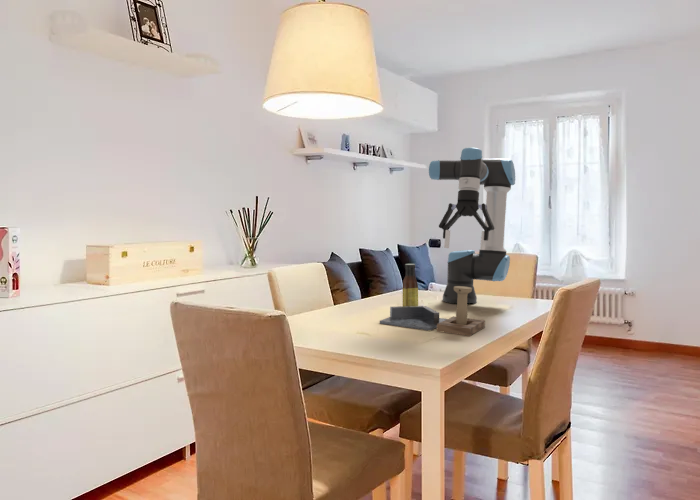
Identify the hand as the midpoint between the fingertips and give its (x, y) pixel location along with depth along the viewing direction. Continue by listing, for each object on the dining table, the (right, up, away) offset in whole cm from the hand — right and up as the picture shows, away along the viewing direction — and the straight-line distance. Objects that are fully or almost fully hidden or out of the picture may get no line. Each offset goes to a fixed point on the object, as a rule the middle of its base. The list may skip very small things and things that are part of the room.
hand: (464, 248), depth 207 cm
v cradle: (-17, -27, +5) cm, 33 cm away
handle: (-2, -29, -4) cm, 29 cm away
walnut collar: (-2, -29, -4) cm, 29 cm away
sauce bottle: (-17, -26, +23) cm, 39 cm away
